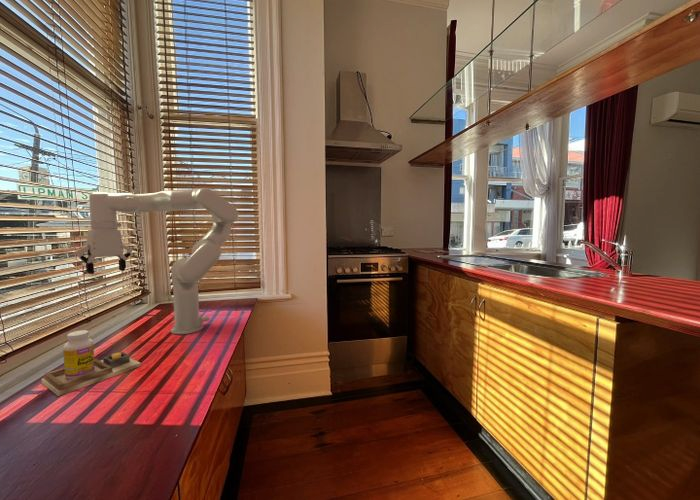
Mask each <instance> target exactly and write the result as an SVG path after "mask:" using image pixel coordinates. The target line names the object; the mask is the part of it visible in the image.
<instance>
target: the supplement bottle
mask: <svg viewBox="0 0 700 500" xmlns="http://www.w3.org/2000/svg"><path fill="white" fill-rule="evenodd" d="M89 332H90V331H89V330H84V329H83V330H82V329H80V330H75V331H72V332H69V333H67V335H66V337H67V338H66V339H67V342H66V343H65V344H64V345H63V347H62V349H63V350H62V351H63V365H64V367H63V368H64V369H65V378H66V379H70V380H72V379H75V378H78V377H81V376H84V375H87V374H90V373H93V372H94V370H95V364H94V359H95V352H94V351H95V349H94V340H93V339H92V338H89V335H90V333H89Z"/></svg>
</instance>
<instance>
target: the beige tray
mask: <svg viewBox="0 0 700 500" xmlns="http://www.w3.org/2000/svg"><path fill="white" fill-rule="evenodd" d="M119 353H121V357H119V358H116V359H113V360H112V354H110V355H107V356H104V357H102V359H101V360H100V359H97V358H95V357H94V364H95V370H94V372H93V373H90V374H87V375H84V376H81V377H78V378H75V379H72V380H70V379H66V378H65V369H64V367H63V368H58V369H55V370H52V371H49V372H46V373H43V378H41V384H42V385H43V386H44V387H46V388H47V389H48V390H50V391H51V392H52V393H54V394H55V395H56V396H58V397H59V396H63V395H65V394H68V393H72V392H74V391H77V390H79V389H81V388H85V387H88V386H90V385H93V384H96V383H98V382H101V381H104V380H107V379H110V378H112V377H115V376H118V375H120V374H123V373H127V372H130V371H133V370H135V369H137V367H138V368H140V366H141V365H142V364H141V362H139V361H137V360H135V359H133V358H131V356H130V354H128V353H127V352H126V353H125V352H123V351H120V352H119ZM141 367H142V366H141ZM134 368H135V369H134ZM129 370H130V371H129Z"/></svg>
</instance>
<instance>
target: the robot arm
mask: <svg viewBox="0 0 700 500" xmlns="http://www.w3.org/2000/svg"><path fill="white" fill-rule="evenodd" d="M88 195H89V196H88V198H89V212H90V213H89V214H90V215H89V216H90V217H89V218H90V229H88V230H87V235H86V244H85V245H86V246H83V247H82V248H80V249H78V250H75V252H74V254H76V256H77V257H78V258H79V259H80V260H81V261H82V262H84V263H85V270H86V272H87V273H88V275H94V274H95V267H94V265H95V264H94V263H93V261H94V260H95V259H96V258H107V257H108V258H109V257H117V258H119V260H118V270H119V271H123V272H125V271H126V267H127V260H128V258H129V257H130V256H131V255H132V252H133V250H134V249H133V247H130V246H127V245H125V244H123V238H122V234H121V231H120V229H118V228H119V227H120V228H121V227H122V223H121V222H120V223H119V222H118V221H117V220H118V217H117V212H119V213H120V212H121V213H123V214H128V215H129V214H137V213H138V214H139V213H151V212H152V213H153V212H174V211H187V210H200V209H201V210H202V209H204V210H206V211H207V212H209V213H210V214H211V218H212V219H211V220H212V226H211V228H210V229H209V230H208V231H207V233H205V234H204V235H203V237H202V238H200V239H199V240H198V241H197V242H196V243H195V244H194V245H193V246H192V249H191V254H190V255H189V257H188V258H187V257H182V258H178V259H176V261H174V262H173V264H172V265H171V269H170V270H171V271H170V272H171V273H170V274H171V279H172V280H171V281H172V290H173V293H172V295H173V313H174V315H173V317H174V326H173V327H172V328H171V329H170V333H171V334H172V335H173V334H174V335H188V334H193V333H196V332H199V331H201V330H203V329H204V324H203V323H204V322H208V321H210V317H209V316H205V317H203V316H200V309H199V308H200V305H199V303H200V302H199V285H198V284H199V283H198V281H199V280H200V279H203V277H204V276H205V275H207V273H208V272H209V271H210V270H211V268H212V267H214V266H215V264H216V263H217V262H218V261H219V260H220V258H221V256H222V246H223V245H224V244H225V243H226V242H227V240H228V239H229V237H230V235H231V231H232V224H233V223H235V222H236V221H237V220H238V218H239V212H238V209H237V208H236V207H235V206H234V205H233V204H231V202H229V201H227V200H226V199H225V198H223V197H222V196H221V195H219V194H218V193H217V192H216V191H214V190H212V189H211V188H209V187H201V188H198V189H197V188H195V189H194V188H193V189H169V190H162V191H158V192H152V193H140V194H139V193H138V194H137V193H136V194H134V193H131V192H121V193H119V192H118V193H111V192H106V191H93V192H91V193H89V194H88ZM124 250H126V252H125V253H124ZM85 252H86V256H85V255H84V254H83V253H85Z"/></svg>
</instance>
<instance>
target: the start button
mask: <svg viewBox="0 0 700 500" xmlns="http://www.w3.org/2000/svg"><path fill="white" fill-rule="evenodd" d="M111 355H112V360H113V359H116V358H119V357H121V353H120V352H114V353H112V354H111Z"/></svg>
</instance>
